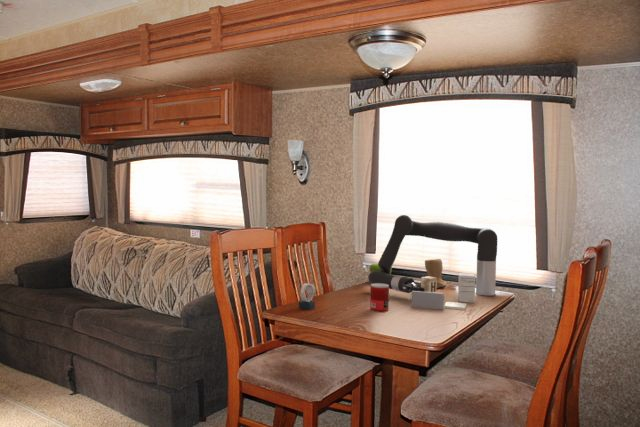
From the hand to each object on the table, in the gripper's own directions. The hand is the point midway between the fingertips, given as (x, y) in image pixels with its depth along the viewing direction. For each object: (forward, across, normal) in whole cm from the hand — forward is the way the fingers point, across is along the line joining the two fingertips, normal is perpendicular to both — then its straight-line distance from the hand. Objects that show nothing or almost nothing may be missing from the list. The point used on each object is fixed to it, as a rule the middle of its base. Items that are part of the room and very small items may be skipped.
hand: (429, 289), depth 241 cm
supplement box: (+7, +19, +7) cm, 22 cm away
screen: (+5, -8, +7) cm, 12 cm away
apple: (-50, +21, +7) cm, 55 cm away
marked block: (0, 0, +7) cm, 7 cm away
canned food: (-5, -28, +7) cm, 29 cm away
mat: (+12, +4, +7) cm, 14 cm away
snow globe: (-26, -52, +7) cm, 58 cm away
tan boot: (-26, +38, +7) cm, 47 cm away
